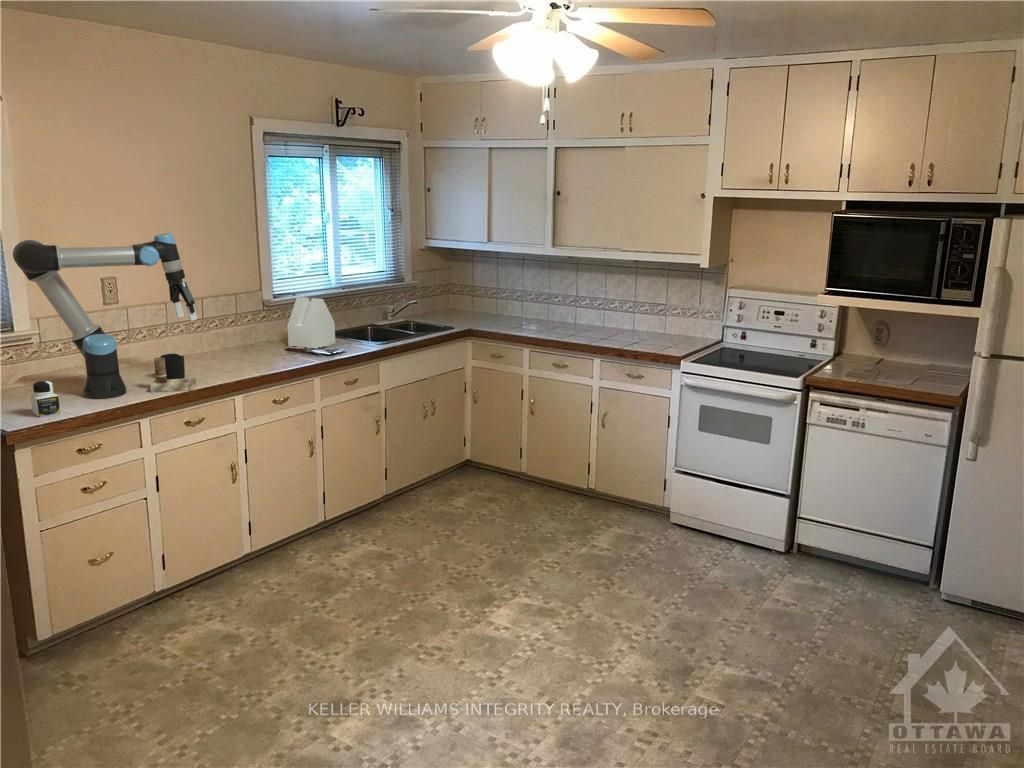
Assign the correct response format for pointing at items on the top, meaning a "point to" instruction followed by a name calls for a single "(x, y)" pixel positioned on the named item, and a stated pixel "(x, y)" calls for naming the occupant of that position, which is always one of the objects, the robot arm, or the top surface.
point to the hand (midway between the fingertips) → (187, 318)
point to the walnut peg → (160, 370)
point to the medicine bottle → (44, 399)
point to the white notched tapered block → (310, 324)
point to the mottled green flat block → (174, 385)
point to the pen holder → (174, 366)
